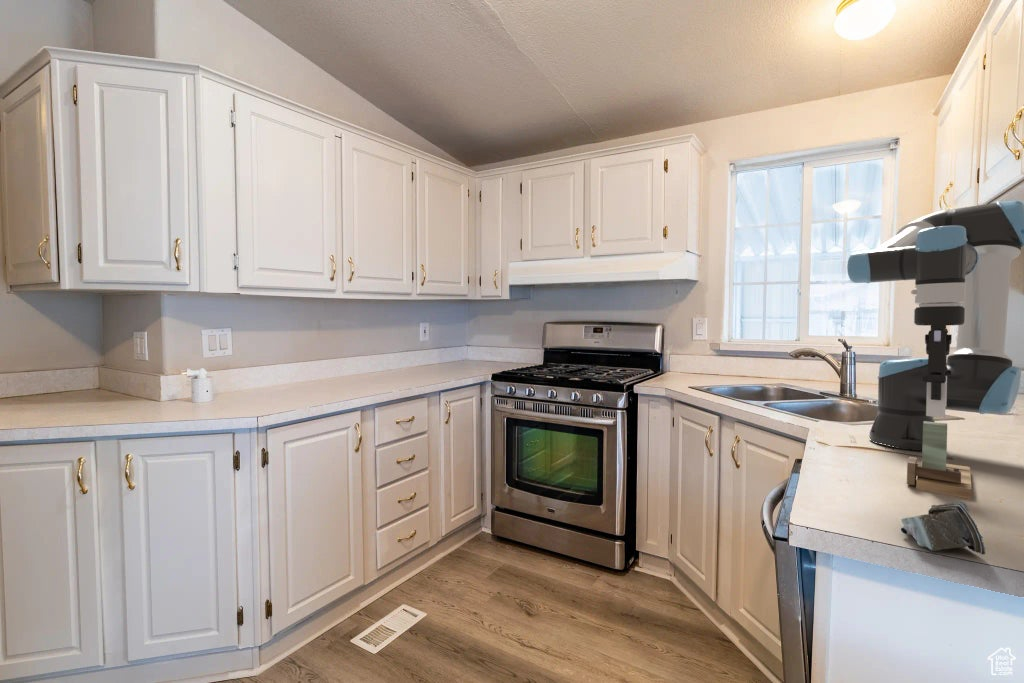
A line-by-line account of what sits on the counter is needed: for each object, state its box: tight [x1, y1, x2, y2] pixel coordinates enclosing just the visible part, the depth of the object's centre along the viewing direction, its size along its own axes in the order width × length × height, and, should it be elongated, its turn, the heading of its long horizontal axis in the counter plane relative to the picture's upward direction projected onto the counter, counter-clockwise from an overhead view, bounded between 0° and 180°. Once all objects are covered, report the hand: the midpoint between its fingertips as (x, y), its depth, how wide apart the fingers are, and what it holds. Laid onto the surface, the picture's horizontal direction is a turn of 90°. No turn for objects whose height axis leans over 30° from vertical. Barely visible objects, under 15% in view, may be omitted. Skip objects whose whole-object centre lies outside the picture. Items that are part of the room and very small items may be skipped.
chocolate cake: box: [900, 501, 986, 556], centre depth 73 cm, size 10×7×12 cm
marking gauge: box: [906, 421, 961, 486], centre depth 97 cm, size 6×8×12 cm
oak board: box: [915, 461, 973, 500], centre depth 101 cm, size 20×8×2 cm, turn 137°
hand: (936, 411), depth 97 cm, fingers open, 13 cm apart
